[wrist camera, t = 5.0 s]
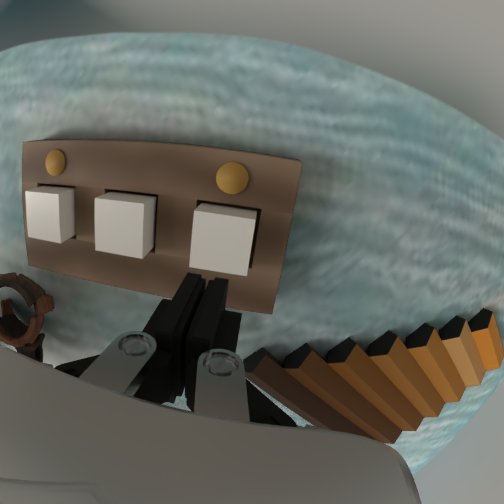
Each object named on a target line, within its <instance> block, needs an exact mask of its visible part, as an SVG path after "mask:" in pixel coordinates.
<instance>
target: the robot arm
mask: <svg viewBox="0 0 504 504" xmlns="http://www.w3.org/2000/svg"><path fill="white" fill-rule="evenodd" d="M228 283H229V279H224V278H218V277H215V279H214V280H209V282H208V284H207V287H206V279H203V278H202V275H201V274H195V273H190V272H188V273H187V275H186V276H185V278H184V280H183V281H182V283H181V285H180V286H179V288H178V290H177V291H176V293H175V295H174V297H173V298H172V300H167V299H162V301H161V302H160V304H159V305H158V307H157V308H156V310H155V311H154V313H153V315H152V316H151V318H150V320H149V321H148V323H147V324H146V326H145V328H144V329H143V331H142V332H140V331H131V332H126V333H124V334H121V335H120V336H118V337H117V338H116V339H115V340H114V341H113V342H112V343H111V344H110V345H109V346H108V347H107V348H106V349H105V350H104V351H103V353H102V354H100V355H96V356H92V357H88V358H84V359H81V360H77V361H73V362H69V363H64V364H61V365H59V366H56V367H55V368H53V365H51V364H46V363H41V362H38V361H36V360H33V359H31V358H29V357H27V356H25V355H22V354H20V353H18V352H16V351H13V350H11V349H9V348H7V347H4V346H2V345H0V504H421V500H420V497H419V493H418V490H417V487H416V484H415V481H414V478H413V476H412V474H411V471H410V469H409V467H408V465H407V463H406V461H405V460H404V459H403V457H402V456H401V455H400V454H399V453H398V452H397V451H396V450H395V449H393V448H392V447H390V446H388V445H386V444H384V443H382V442H379V441H377V440H373V439H370V438H367V437H364V436H360V435H355V434H350V433H345V432H338V431H334V430H329V429H325V428H320V427H316V426H312V425H308V424H306V425H305V427H302V426H298V425H296V423H295V422H294V420H293V419H292V418H291V417H290V416H288V415H287V414H286V413H285V412H284V411H282V410H281V409H280V408H279V407H278V406H276V405H275V404H274V403H273V402H272V401H271V400H269V399H268V398H267V397H266V396H265V395H264V394H263V393H261V392H260V391H259V390H258V389H257V388H256V387H255V386H254V385H252V384H251V383H250V382H249V381H248V380H247V379H246V378H245V369H244V363H243V360H242V359H241V358H240V357H239V356H238V355H237V354H235V352H236V346H237V340H238V334H239V328H240V322H241V316H242V313H237V312H231V311H226V310H225V307H226V299H227V291H228ZM205 287H206V289H205ZM184 387H185V398H187V406H188V407H189V408H190V410H191V411H192V412H191V411H186V410H182V409H178V408H173V407H169V406H165V405H161V404H162V403H165V402H170V403H174V402H175V399H176V396H180V397H181V396H182V393H183V390H184Z"/></svg>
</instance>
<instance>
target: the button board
mask: <svg viewBox="0 0 504 504" xmlns="http://www.w3.org/2000/svg"><path fill="white" fill-rule="evenodd" d="M301 167H302V162H301V161H299V160H297V159H291V158H286V157H280V156H274V155H268V154H262V153H255V152H248V151H241V150H234V149H226V148H218V147H210V146H201V145H191V144H180V143H168V142H154V141H138V140H114V139H49V140H36V141H27V142H23V151H22V200H23V218H24V230H25V240H26V248H27V256H28V263H29V265H30V266H34V267H37V268H41V269H45V270H49V271H53V272H56V273H60V274H64V275H68V276H72V277H76V278H81V279H85V280H89V281H93V282H98V283H102V284H106V285H111V286H115V287H120V288H124V289H129V290H134V291H139V292H144V293H148V294H153V295H158V296H164V297H169V298H173V297H174V295H175V293H176V291H177V290H178V288H179V286H180V285H181V283H182V281H183V280H184V278H185V276H186V275H187V273H188V272H190V273H195V274H201V275H202V278H203V279H206V287H207V284H208V282H209V280H214V279H215V277H218V278H224V279H229V283H228V291H227V299H226V307H225V308H232V309H238V310H244V311H251V312H258V313H265V314H272V312H273V308H274V303H275V299H276V294H277V289H278V284H279V280H280V275H281V270H282V265H283V260H284V256H285V251H286V246H287V241H288V236H289V231H290V225H291V220H292V215H293V210H294V205H295V199H296V194H297V189H298V183H299V178H300V172H301ZM40 186H56V187H68V188H76V189H75V207H76V235H74V236H72V237H71V238H69V239H67V240H66V241H64V242H63V243H56V242H51V241H46V240H41V239H36V238H31V237H28V230H27V217H26V198H25V191H27V190H30V189H33V188H36V187H40ZM108 192H119V193H128V194H137V195H146V196H154V197H157V198H156V213H155V233H154V247H153V248H152V249H151V250H150V252H149V253H148V254H147V255H146V256H145V257H144V258H143V259H140V258H135V257H129V256H124V255H118V254H113V253H107V252H102V251H97V250H95V198H96V197H98V196H101V195H103V194H106V193H108ZM201 203H208V204H215V205H222V206H229V207H235V208H242V209H248V210H255V211H257V214H256V221H255V228H254V234H253V240H252V246H251V253H250V259H249V265H248V271H247V276H242V275H235V274H229V273H223V272H217V271H210V270H204V269H198V268H192V267H189V264H190V250H191V238H192V227H193V216H194V210H195V209H196V208H197V207H198V206H199V205H200V204H201ZM206 287H205V289H206Z"/></svg>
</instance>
